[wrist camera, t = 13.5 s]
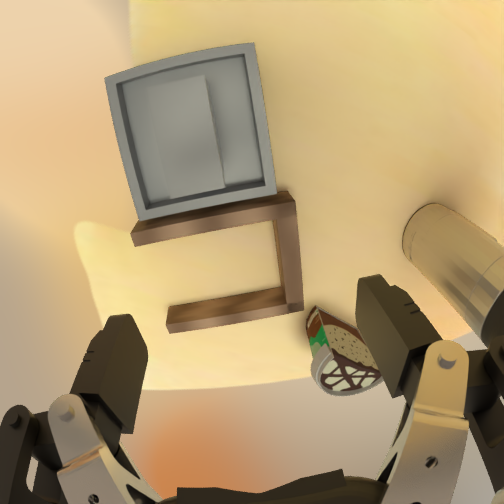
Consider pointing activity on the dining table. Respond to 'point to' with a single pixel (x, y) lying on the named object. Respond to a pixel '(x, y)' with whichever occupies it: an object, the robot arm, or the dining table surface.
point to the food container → (339, 356)
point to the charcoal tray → (226, 120)
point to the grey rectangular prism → (186, 136)
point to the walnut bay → (229, 216)
